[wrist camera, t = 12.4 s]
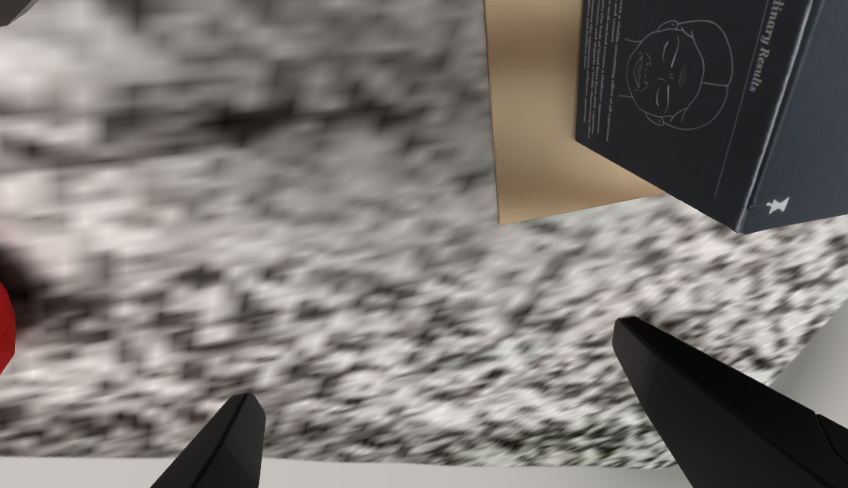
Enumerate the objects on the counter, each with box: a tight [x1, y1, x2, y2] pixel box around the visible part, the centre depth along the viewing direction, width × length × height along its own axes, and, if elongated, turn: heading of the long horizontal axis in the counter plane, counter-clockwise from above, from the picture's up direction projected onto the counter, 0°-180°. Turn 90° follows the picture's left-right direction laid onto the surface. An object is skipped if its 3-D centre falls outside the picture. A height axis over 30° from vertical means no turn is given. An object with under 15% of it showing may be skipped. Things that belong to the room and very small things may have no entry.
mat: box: [484, 0, 666, 226], centre depth 18 cm, size 16×12×1 cm
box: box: [575, 0, 848, 234], centre depth 13 cm, size 8×6×11 cm
